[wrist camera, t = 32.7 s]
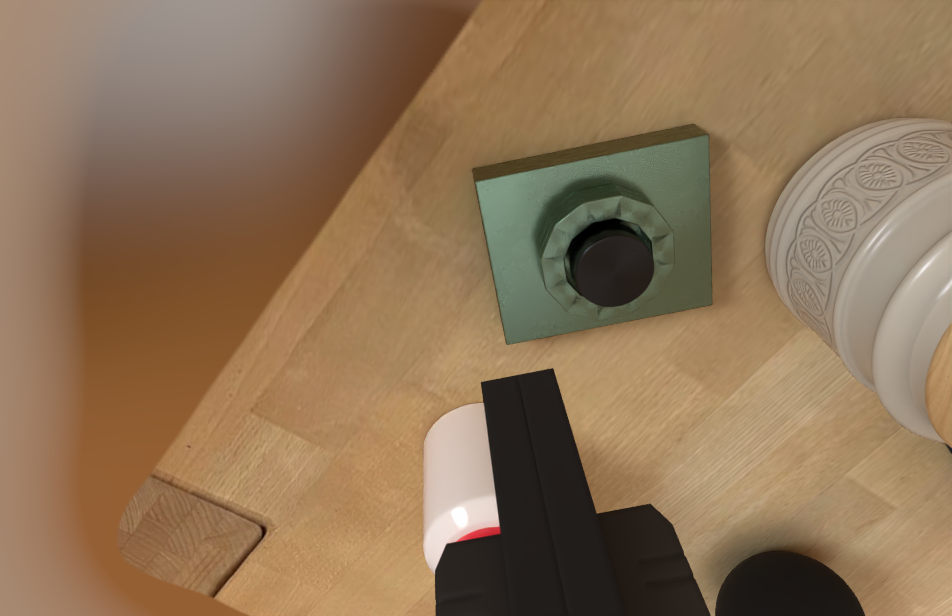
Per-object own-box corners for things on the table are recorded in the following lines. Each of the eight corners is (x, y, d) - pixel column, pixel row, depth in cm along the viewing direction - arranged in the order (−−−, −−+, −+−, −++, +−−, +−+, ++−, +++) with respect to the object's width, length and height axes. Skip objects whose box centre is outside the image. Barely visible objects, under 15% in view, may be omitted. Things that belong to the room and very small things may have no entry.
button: (573, 298, 37) (580, 314, 35) (564, 230, 35) (571, 244, 34) (647, 284, 37) (657, 299, 35) (642, 215, 35) (652, 228, 33)
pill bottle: (398, 447, 46) (392, 586, 36) (488, 381, 44) (506, 509, 34) (474, 509, 49) (487, 652, 39) (561, 450, 47) (597, 585, 37)
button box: (502, 326, 42) (509, 362, 38) (471, 168, 37) (477, 193, 33) (699, 287, 41) (725, 320, 38) (694, 123, 37) (723, 143, 33)
